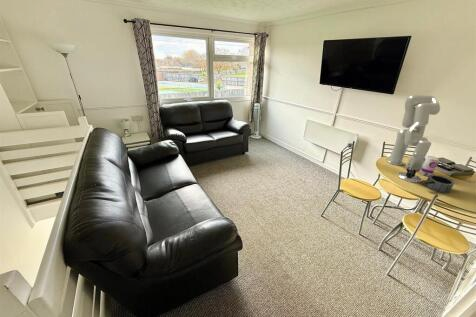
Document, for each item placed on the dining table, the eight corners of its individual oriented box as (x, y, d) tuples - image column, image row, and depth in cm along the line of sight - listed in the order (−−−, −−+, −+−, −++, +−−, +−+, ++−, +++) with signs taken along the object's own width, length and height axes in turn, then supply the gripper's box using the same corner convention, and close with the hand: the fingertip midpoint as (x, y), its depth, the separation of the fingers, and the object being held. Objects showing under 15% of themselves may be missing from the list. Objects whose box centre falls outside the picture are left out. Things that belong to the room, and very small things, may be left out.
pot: (412, 183, 158) (415, 175, 155) (438, 181, 161) (442, 174, 158) (429, 194, 146) (433, 186, 143) (457, 192, 148) (462, 184, 145)
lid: (393, 173, 172) (395, 166, 169) (409, 172, 173) (412, 166, 170) (408, 183, 158) (411, 176, 155) (425, 182, 160) (429, 175, 157)
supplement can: (433, 177, 167) (442, 160, 160) (422, 175, 169) (430, 159, 162) (427, 172, 174) (435, 156, 168) (416, 171, 176) (424, 155, 169)
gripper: (423, 153, 161) (414, 173, 169) (405, 154, 159) (396, 174, 168) (432, 157, 155) (422, 178, 163) (413, 158, 153) (404, 179, 161)
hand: (409, 176), depth 165 cm, fingers closed on lid, 3 cm apart
